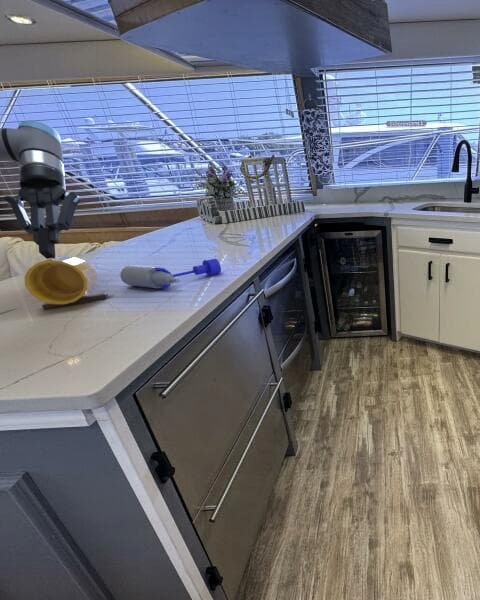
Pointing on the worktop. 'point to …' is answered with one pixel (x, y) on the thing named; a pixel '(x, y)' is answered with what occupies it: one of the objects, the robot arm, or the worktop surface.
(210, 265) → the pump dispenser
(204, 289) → the worktop surface
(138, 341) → the worktop surface
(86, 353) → the worktop surface
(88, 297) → the stop bar
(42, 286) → the bowl
